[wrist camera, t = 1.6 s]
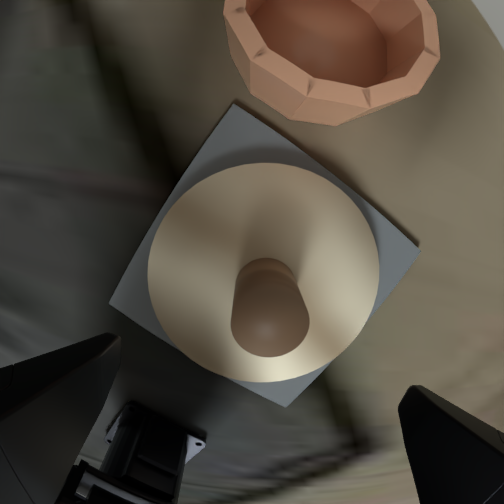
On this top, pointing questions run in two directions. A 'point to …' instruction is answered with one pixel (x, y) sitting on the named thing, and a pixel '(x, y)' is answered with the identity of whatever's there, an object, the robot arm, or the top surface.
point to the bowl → (332, 54)
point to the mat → (249, 152)
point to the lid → (263, 272)
